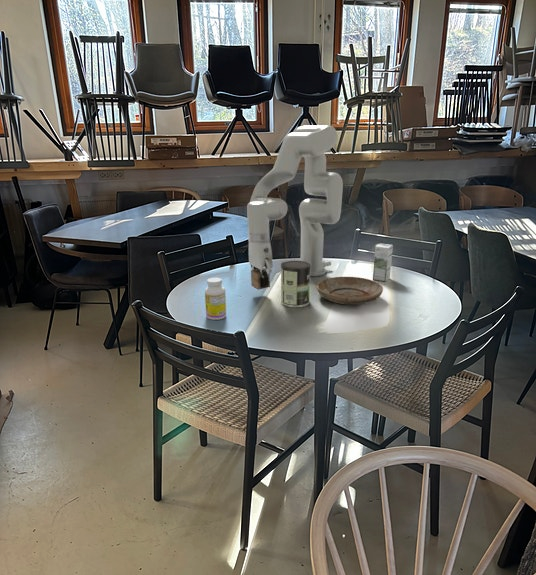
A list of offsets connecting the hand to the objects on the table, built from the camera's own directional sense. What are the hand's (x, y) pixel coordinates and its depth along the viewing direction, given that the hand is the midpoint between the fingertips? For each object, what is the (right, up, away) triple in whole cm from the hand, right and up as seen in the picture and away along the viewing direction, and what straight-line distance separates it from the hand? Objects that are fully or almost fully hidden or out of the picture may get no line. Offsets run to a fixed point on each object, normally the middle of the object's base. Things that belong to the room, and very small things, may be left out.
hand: (260, 284), depth 160 cm
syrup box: (+50, +2, +19) cm, 53 cm away
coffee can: (+12, -7, -5) cm, 15 cm away
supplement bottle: (-14, -11, -17) cm, 25 cm away
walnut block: (0, -1, 0) cm, 1 cm away
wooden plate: (+32, -5, -2) cm, 33 cm away
